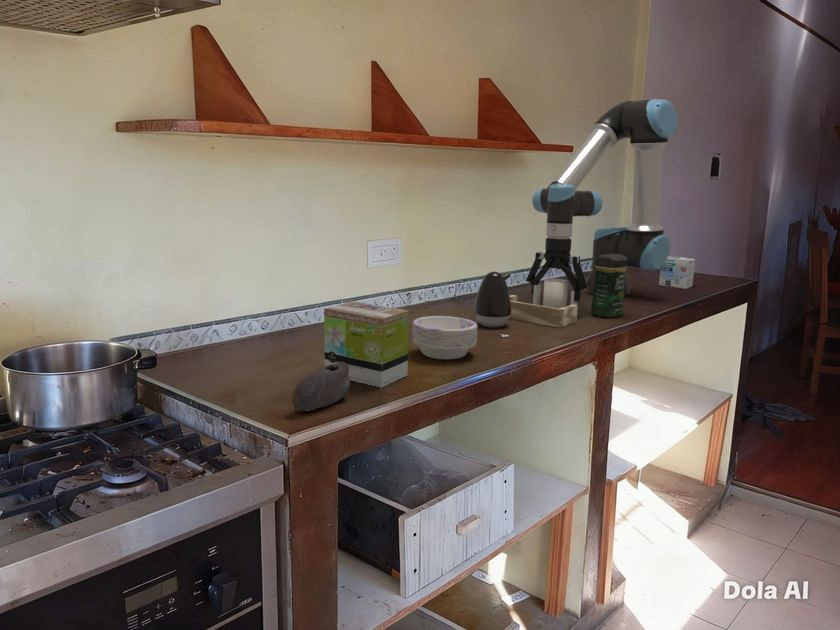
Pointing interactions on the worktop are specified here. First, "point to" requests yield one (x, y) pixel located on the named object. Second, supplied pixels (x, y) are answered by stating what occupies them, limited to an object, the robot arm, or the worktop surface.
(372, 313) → the tea box
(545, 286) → the white domed cylinder
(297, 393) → the perforated stone tool
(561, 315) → the rest cradle
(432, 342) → the paper bowls
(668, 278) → the light bulb box
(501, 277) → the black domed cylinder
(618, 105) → the robot arm
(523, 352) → the worktop surface
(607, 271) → the coffee jar
